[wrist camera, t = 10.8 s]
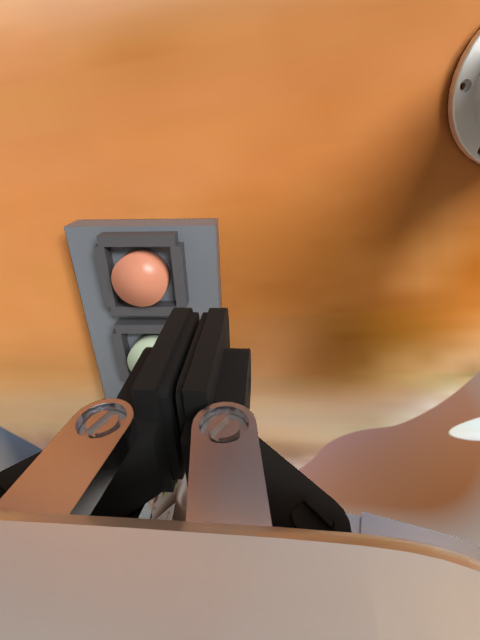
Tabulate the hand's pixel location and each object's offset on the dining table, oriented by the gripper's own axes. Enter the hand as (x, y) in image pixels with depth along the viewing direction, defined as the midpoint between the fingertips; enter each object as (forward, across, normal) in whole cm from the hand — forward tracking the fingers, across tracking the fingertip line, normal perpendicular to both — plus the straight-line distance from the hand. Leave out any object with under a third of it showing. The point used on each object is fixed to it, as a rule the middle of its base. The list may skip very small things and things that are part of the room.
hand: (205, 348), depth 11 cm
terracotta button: (+22, +10, +6) cm, 25 cm away
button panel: (+25, +10, +15) cm, 31 cm away
